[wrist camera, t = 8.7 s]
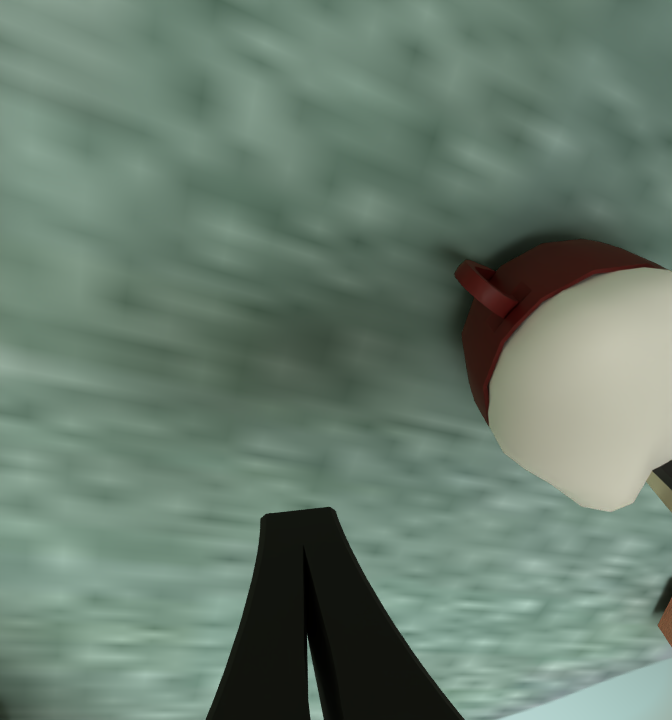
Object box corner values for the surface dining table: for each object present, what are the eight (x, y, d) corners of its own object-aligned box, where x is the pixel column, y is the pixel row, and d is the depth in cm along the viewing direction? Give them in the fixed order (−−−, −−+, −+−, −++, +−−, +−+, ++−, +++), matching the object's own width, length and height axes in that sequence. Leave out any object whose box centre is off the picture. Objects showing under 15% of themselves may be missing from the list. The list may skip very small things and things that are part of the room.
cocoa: (390, 253, 17) (606, 635, 7) (590, 134, 16) (1171, 386, 6) (502, 451, 22) (721, 836, 12) (660, 370, 21) (1041, 720, 11)
